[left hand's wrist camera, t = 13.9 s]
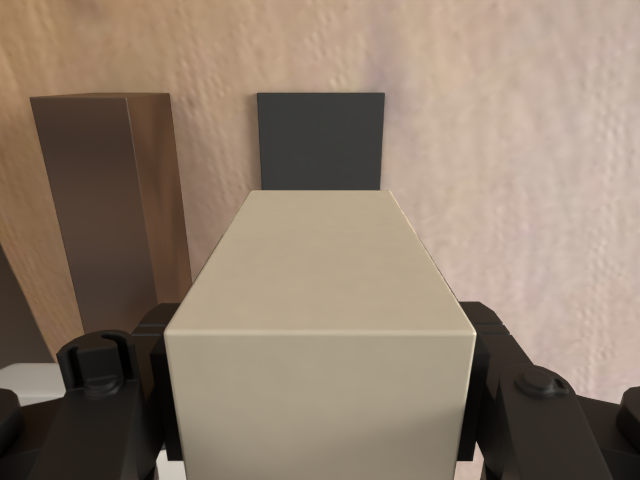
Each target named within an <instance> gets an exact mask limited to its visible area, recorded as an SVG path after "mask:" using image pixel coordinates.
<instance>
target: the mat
mask: <svg viewBox="0 0 640 480" xmlns="http://www.w3.org/2000/svg"><path fill="white" fill-rule="evenodd" d="M384 98H385V93H257V101H258V121H259V140H260V160H261V180H262V190H370V191H380V175H381V156H382V136H383V117H384Z"/></svg>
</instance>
